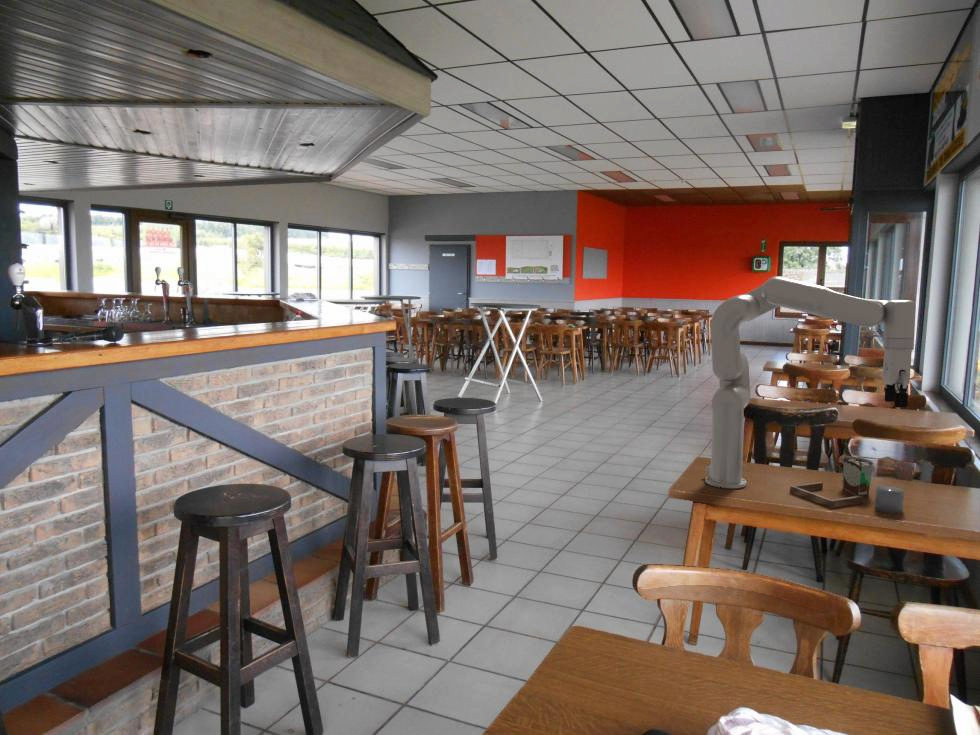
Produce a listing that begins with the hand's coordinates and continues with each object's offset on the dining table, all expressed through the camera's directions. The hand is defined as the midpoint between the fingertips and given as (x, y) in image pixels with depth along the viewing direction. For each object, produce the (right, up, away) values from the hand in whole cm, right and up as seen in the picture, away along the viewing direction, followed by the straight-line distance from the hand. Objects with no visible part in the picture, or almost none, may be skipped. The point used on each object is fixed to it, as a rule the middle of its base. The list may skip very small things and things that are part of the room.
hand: (895, 404), depth 206 cm
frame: (-15, -29, +11) cm, 34 cm away
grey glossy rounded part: (-2, -30, 0) cm, 30 cm away
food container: (-2, -28, +17) cm, 33 cm away
